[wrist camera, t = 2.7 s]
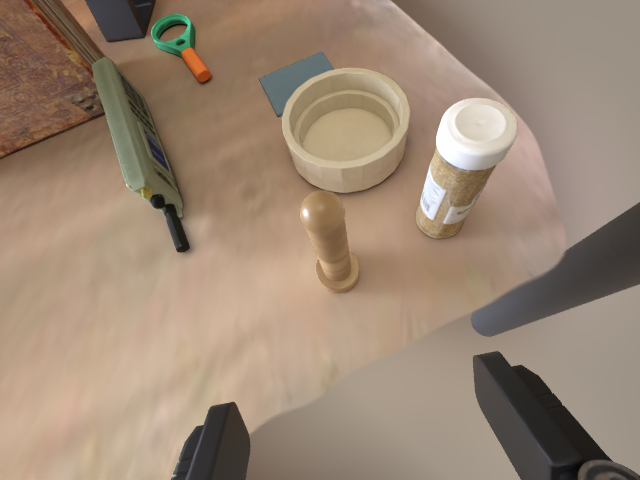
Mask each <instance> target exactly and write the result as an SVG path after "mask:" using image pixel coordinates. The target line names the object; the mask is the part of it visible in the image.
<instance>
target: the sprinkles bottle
mask: <svg viewBox="0 0 640 480" xmlns="http://www.w3.org/2000/svg"><path fill="white" fill-rule="evenodd" d="M517 130H518V126H517V121H516V119H515V116H514V115H513V113H512V112H511V111H510V110H509V109H508V108H507V107H506V106H504V105H503V104H501V103H499V102H497V101H494V100H491V99H486V98H469V99H465V100H462V101H459V102H457V103H455V104H454V105H452V106H451V107H450V108H449V109H448V110H447V111H446V112H445V114H444V115H443V117H442V120H441V123H440V126H439V129H438V133H437V137H436V144H437V146H436V150H435V153H434V156H433V159H432V161H431V163H430V167H429V171H428V174H427V178H426V182H425V185H424V189H423V192H422V196H421V202H420V205H419V207H418V209H417V211H416V222H417V225H418V227H419V228H420V229H421V231H422V232H424V233H425V234H427V235H428V236H430V237H432V238H437V239H442V238H448V237H451V236H453V235H455V234H456V233H457V232H458V231H459V230H460V229H461V228H462V225H463V223H464V220H465V218H466V216H467V215H468V214H469V212H470V211H471V209H472V207H473V205H474V204H475V202H476V200H477V198H478V197H479V195H480V193H481V191H482V190H483V188H484V186H485V185H486V183H487V180H488V178H489V177H490V175H491V173H492V171H493V170H494V168H495V166H496V164H498V163H499V162H500V161H502V159H503V158H504V157H505V156H506V154H507V153H508V151H509V149H510V148H511V146H512V144H513V142H514V140H515V138H516V136H517Z"/></svg>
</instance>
